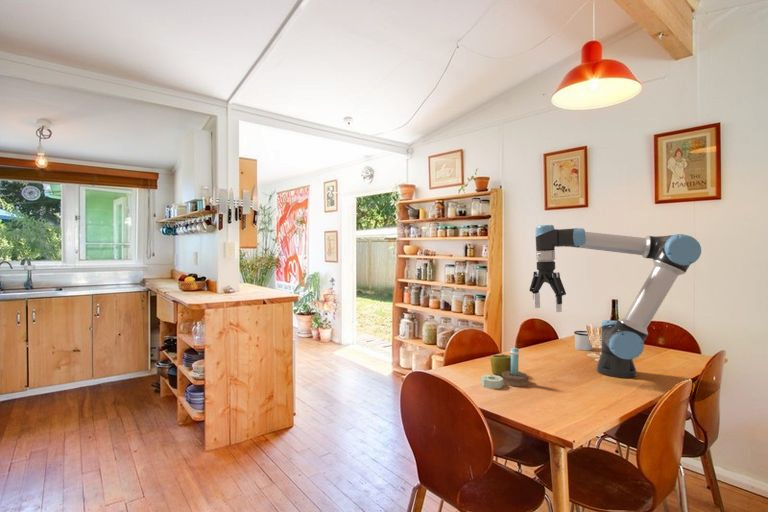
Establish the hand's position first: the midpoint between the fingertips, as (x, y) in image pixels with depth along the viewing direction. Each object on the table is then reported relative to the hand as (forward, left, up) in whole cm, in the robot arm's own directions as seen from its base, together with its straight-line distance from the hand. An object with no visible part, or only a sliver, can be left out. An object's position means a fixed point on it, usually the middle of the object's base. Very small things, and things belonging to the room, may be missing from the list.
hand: (547, 309), depth 175 cm
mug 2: (-26, -54, -29) cm, 66 cm away
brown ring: (+14, +14, -28) cm, 35 cm away
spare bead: (+23, +20, -28) cm, 42 cm away
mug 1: (+19, +2, -29) cm, 35 cm away
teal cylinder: (+14, +14, -28) cm, 35 cm away
